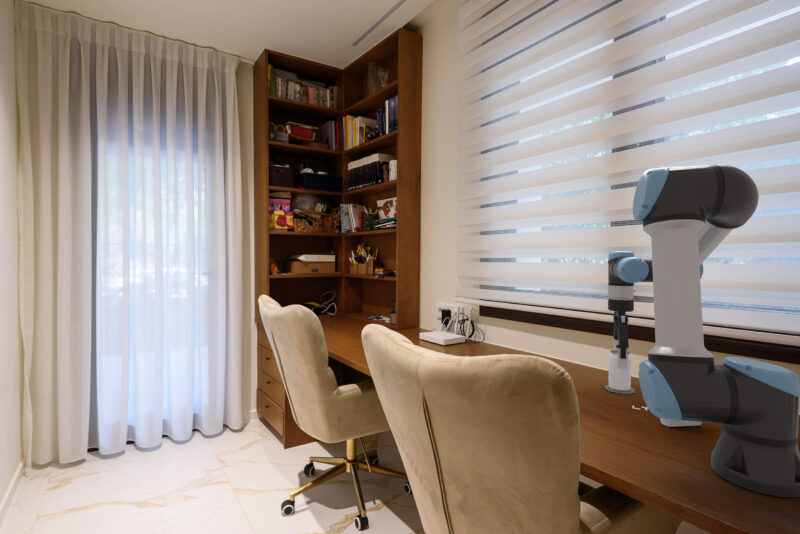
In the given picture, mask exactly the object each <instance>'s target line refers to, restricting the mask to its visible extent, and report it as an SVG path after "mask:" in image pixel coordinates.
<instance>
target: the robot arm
mask: <svg viewBox="0 0 800 534" xmlns="http://www.w3.org/2000/svg"><path fill="white" fill-rule="evenodd" d="M759 198H760V197H759V189H758V186H757V184H756V183H755V181H754V180H753V178H752V177H751V176H750V175H749V174H748V173H747V172H745V171H744V170H742V169H741V168H739V167H736V166H733V165H728V164H712V165H691V166H689V165H688V166H684V165H683V166H664V167H658V168H657V167H656V168H649V169H647V170H645V171H644V172H643V173H642V174H641V176H640V178H639V180H638V182H637V185H636V188H635V192H634V197H633V203H632V215H633V220H635V221H638V222H640V223H641V222H642V231H644V232H645V233H646V234H647V235H649V236H650V241H651V242H650V244H651V245H650V246H651V256H635V253H634V252H633V251H628V250H623V251H622V250H619V251H617V250H615V251H610V252H609V253H608V258H607V259H608V260H607V265H608V267H607V268H608V269H607V271H608V273H607V277H608V278H607V280H608V281H607V282H608V284H607V297H608V298H609V299H608V300H607V310H608V311H611V312H613V314H614V315H613V318H612V319H613V333H612V336H613V350H618V369H628V352H629V347H630V344H629V317H628V315H627V314H626V313H627V312H628V313H631V312H634V309H635V300H633V299H634V297H635V292H637V289H636V288H635V284H637V283H652V287H653V312H654V313H653V314H654V337H655V343H654V346H653V347H652V348H651V349H650V350H648V351H647V359H644V360H642V361H640V363H639V364H638V365H639V366H638V381H639V387H640V392H641V393H642V394H641V395H642V398H643V400H644V402H645V404H646V407H648V408H647V410H649V411H650V413H651V414H652V415H654V416H655V417H656V418H659V419H660V418H664V419H672V420H676V421H681V420H683V421H695V422H702V423H709V424H722V426H721V433H720V435H719V437H718V439H717V441H716V443H715V445H714V447H713V450H712V452H711V455H710V456H711V457H710V468H711V469H712V470H713V472H714V473H715V474H716V475H717V476H719V477H721V478H722V479H724V480H726V482H727V481H728V482H729V483H731V484H734V485H735V486H737V487H740V488H744V489H746V490H749V491H752V492H755V493H759V494H764V495H767V496H774V497H779V498H780V497H781V498H800V450H799V445H798V443H799V419H800V417H799V415H800V413H799V412H800V380H799V378H798V375H797V374H796V373H795V372H794V371H792V370H791V369H788V368H786V367H783V366H779V365H777V364H773V363H769V362H765V361H762V360H758V359H757V360H756V359H752V358H748V357H741V356H726V357H724V359H723V360H722V364H715V358H714V355H713V353H711V352H710V351H709V350H708V349H707V348H706V347H705V342H704V340H705V339H704V324H703V323H704V322H703V321H704V320H703V306H702V289H701V288H702V286H701V285H702V284H701V280H702V278H703V277H702V276H703V275H704V274H703V273H704V262H705V261H706V259H708V257H709V256H710V255H711V254H712V253H713V252H714V251H715V250H716V249H717V248H718V246H719V245H720V244H721V243H722V242H723V241H724V240H725V239H726V237H727V236H728V235H730V233H731V232H732V231H733V230H735V229H739V228H742V227H743V226H744V225H745V224H746V223H747V222H748V221H749V220H750V219H751V217H753V215H754V213H755V212H756V210H757V208H758V204H759Z"/></svg>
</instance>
